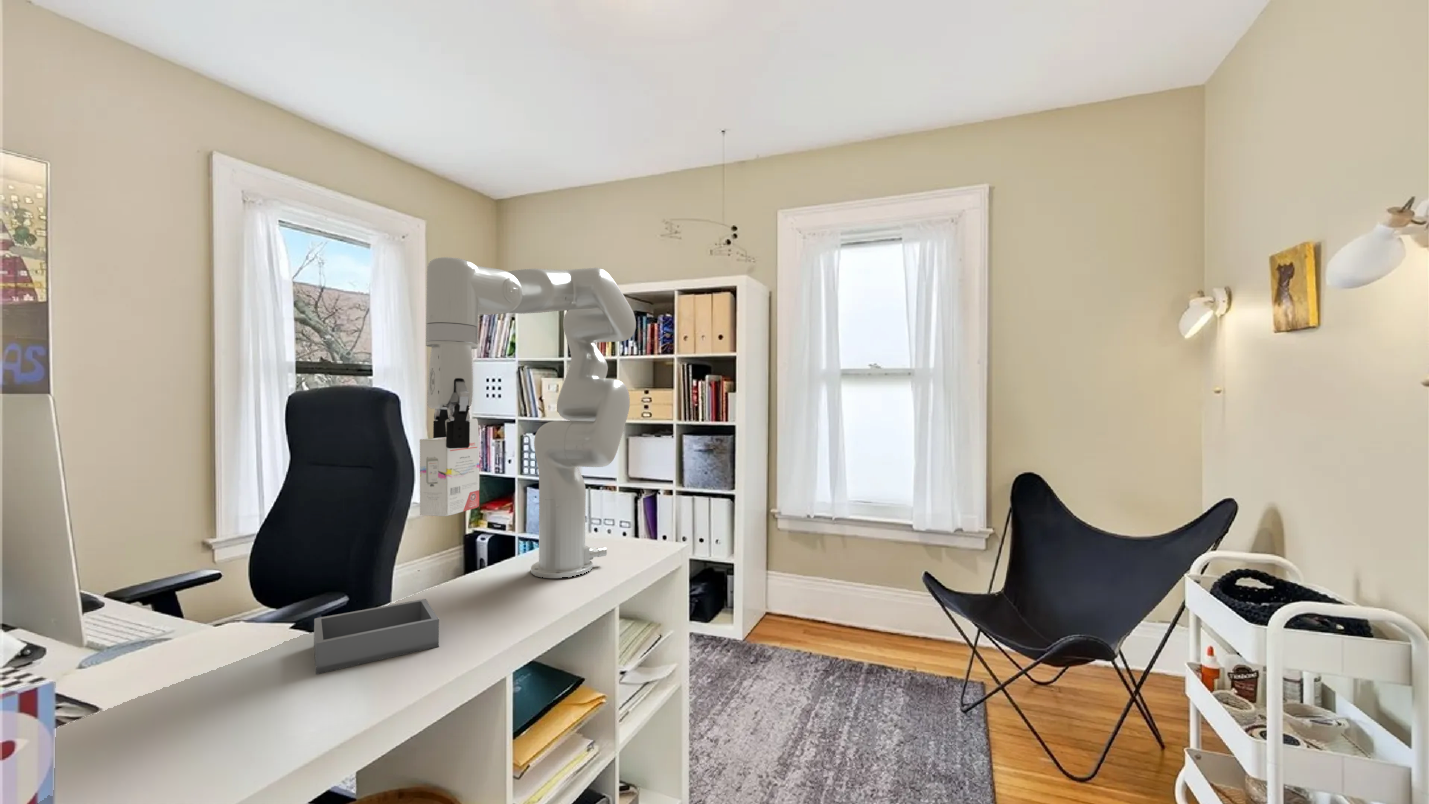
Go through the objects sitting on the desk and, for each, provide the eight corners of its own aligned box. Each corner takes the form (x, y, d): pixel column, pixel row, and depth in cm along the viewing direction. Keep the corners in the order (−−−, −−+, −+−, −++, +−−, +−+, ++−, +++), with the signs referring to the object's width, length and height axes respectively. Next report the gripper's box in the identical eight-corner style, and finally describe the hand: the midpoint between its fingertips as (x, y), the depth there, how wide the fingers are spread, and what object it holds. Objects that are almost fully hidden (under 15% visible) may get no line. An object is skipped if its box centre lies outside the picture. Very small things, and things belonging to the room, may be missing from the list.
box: (425, 623, 92) (425, 598, 92) (438, 646, 83) (438, 619, 83) (314, 646, 83) (314, 618, 83) (315, 674, 74) (316, 643, 74)
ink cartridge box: (453, 506, 95) (454, 417, 96) (480, 507, 94) (481, 418, 95) (417, 515, 87) (418, 418, 87) (446, 517, 86) (447, 419, 86)
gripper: (416, 341, 96) (414, 444, 95) (438, 330, 82) (436, 450, 82) (463, 344, 100) (462, 442, 100) (492, 334, 86) (490, 448, 86)
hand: (450, 446), depth 91 cm, fingers closed on ink cartridge box, 9 cm apart
